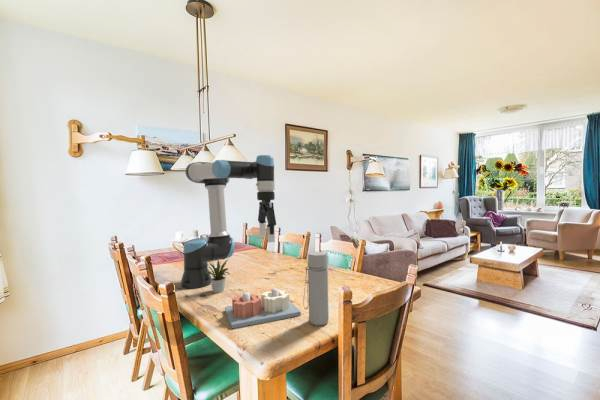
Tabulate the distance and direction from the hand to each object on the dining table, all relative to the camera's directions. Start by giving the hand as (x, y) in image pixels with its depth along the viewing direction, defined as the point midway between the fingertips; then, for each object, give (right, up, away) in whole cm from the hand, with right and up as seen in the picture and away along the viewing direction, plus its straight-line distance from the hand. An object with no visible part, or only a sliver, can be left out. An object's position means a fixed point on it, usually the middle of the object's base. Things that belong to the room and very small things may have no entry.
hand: (266, 239), depth 125 cm
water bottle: (+20, -27, -21) cm, 40 cm away
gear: (-6, -26, -15) cm, 30 cm away
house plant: (-26, -27, +13) cm, 40 cm away
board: (0, -27, -13) cm, 30 cm away
